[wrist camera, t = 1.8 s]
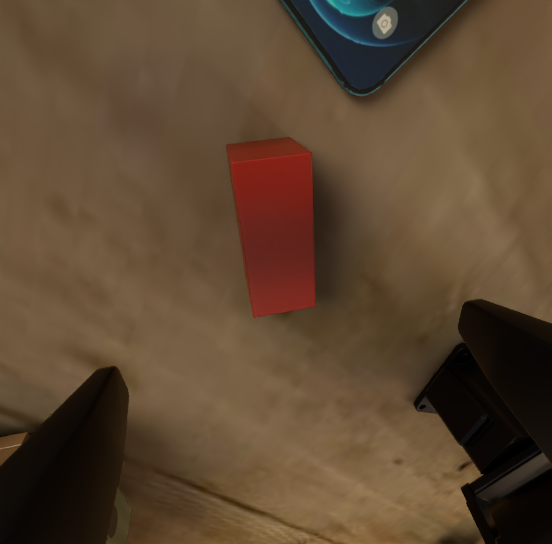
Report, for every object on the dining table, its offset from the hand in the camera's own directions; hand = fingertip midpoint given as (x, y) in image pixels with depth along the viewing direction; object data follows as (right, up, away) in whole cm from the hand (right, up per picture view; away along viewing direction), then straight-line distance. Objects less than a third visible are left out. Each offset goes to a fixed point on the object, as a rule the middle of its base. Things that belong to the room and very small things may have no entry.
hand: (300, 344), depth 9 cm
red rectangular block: (-1, +5, +7) cm, 9 cm away
